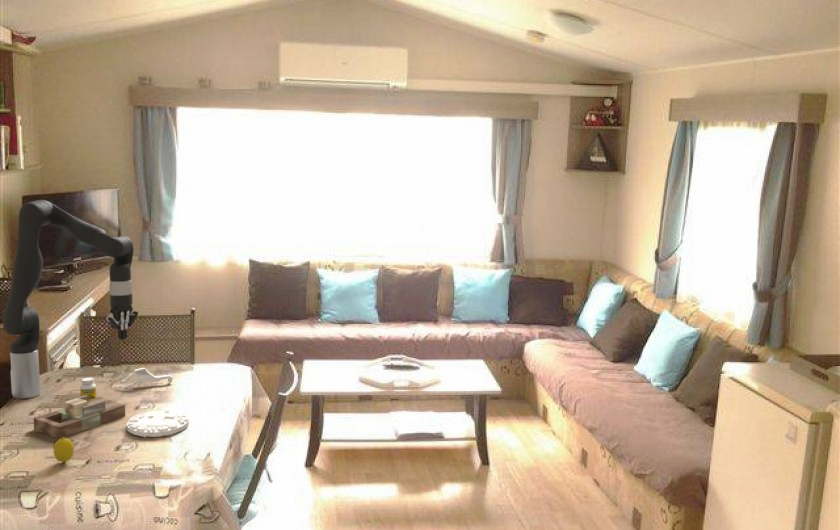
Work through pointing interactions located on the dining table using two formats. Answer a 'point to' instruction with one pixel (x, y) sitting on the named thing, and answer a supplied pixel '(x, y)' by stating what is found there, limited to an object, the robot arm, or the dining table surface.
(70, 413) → the maple block
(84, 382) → the supplement bottle
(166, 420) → the white flat round disc
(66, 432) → the walnut deck
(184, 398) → the dining table surface
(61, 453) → the lemon
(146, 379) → the llama figurine
